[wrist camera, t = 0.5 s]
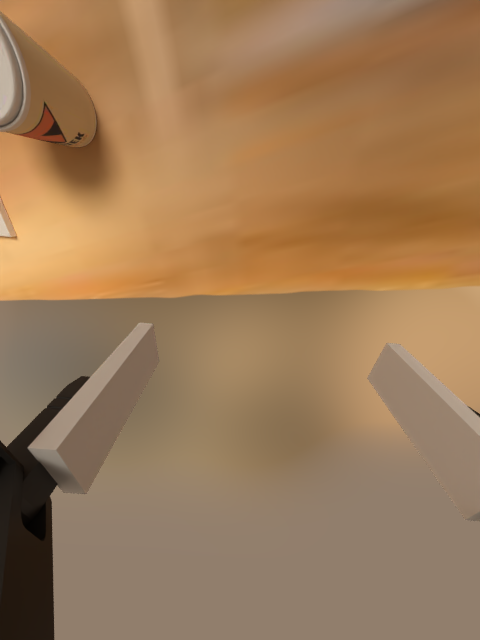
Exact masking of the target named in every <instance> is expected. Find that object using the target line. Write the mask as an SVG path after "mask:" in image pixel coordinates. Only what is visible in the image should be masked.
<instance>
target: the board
mask: <svg viewBox="0 0 480 640" xmlns="http://www.w3.org/2000/svg"><path fill="white" fill-rule="evenodd" d="M0 236H7V237H14V236H16V233H15V231H14V228H13V226H12V224H11V221H10V219H9V216H8V214H7V212H6V209H5V207H4V205H3V202H2V200H1V197H0Z"/></svg>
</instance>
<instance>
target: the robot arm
mask: <svg viewBox="0 0 480 640" xmlns="http://www.w3.org/2000/svg"><path fill="white" fill-rule="evenodd" d="M158 363H159V357H158V351H157V345H156V339H155V332H154V326H153V324H148V323H139V324H138V325H137V326H136V327H135V328H134V329H133V330H132V332H131V333H130V334H129V335H128V336H127V337H126V338H125V339H124V340H123V342H122V343H121V344H120V345H119V346H118V347H117V348H116V349H115V350H114V352H113V353H112V354H111V355H110V356H109V357H108V358H107V359H106V361H105V362H104V363H103V364H102V365H101V366H100V367H99V368H98V370H97V371H96V372H95V373H94V374H93V375H92V376H91V377H85V376H81V377H80V378H78V379H77V380H75V381H73V382H72V383H70V384H69V385H67V386H66V387H65V388H64V389H63V390H62V391H61V392H60V393H59V394H58V395H57V398H56V399H54V400H53V401H52V402H51V403H50V404H49V405H48V406H47V408H45V409H44V410H43V411H42V412H41V413H40V414H39V415H38V416H37V417H36V418H35V419H34V420H33V421H32V422H31V423H30V424H29V425H28V426H27V427H26V428H25V429H24V430H23V431H22V432H21V433H20V434H19V435H18V436H17V437H16V438H15V439H14V440H13V441H12V442H11V443H10V444H9V445H8V446H7V447H6V446H5V445H4V444H3V443H2V442H1V441H0V640H54V601H53V550H52V502H51V498H50V495H51V493H52V492H53V490H54V489H55V487H56V486H57V485H58V486H59V488H60V489H61V490H62V491H63V492H64V493H77V494H87V492H88V490H89V488H90V486H91V485H92V483H93V481H94V479H95V477H96V475H97V474H98V472H99V470H100V468H101V466H102V465H103V463H104V461H105V459H106V457H107V456H108V454H109V452H110V450H111V448H112V446H113V444H114V443H115V441H116V439H117V437H118V436H119V433H120V432H121V430H122V428H123V426H124V425H125V423H126V421H127V419H128V417H129V415H130V414H131V412H132V410H133V408H134V406H135V405H136V402H137V401H138V399H139V397H140V395H141V394H142V392H143V390H144V388H145V386H146V385H147V383H148V381H149V379H150V377H151V376H152V374H153V372H154V370H155V368H156V366H157V364H158ZM368 380H369V381H370V383H371V384H372V386H373V387H374V389H375V390H376V391H377V393H378V394H379V396H380V397H381V399H382V400H383V402H384V403H385V404H386V406H387V407H388V409H389V410H390V412H391V413H392V414H393V416H394V418H395V419H396V420H397V422H398V423H399V425H400V426H401V428H402V429H403V431H404V432H405V433H406V435H407V436H408V438H409V439H410V441H411V442H412V443H413V445H414V447H415V448H416V449H417V451H418V452H419V454H420V455H421V457H422V458H423V459H424V461H425V462H426V464H427V465H428V467H429V468H430V470H431V471H432V473H433V474H434V475H435V477H436V478H437V480H438V481H439V483H440V484H441V486H442V487H443V489H444V490H445V491H446V493H447V494H448V496H449V497H450V499H451V500H452V502H453V503H454V504H455V506H456V507H457V509H458V510H459V511H460V513H461V514H462V516H463V518H464V519H465V520H473V521H480V414H479V413H477V412H476V411H474V410H473V409H471V408H470V407H468V406H467V405H466V404H464V403H463V402H462V401H461V400H460V399H459V398H458V397H457V396H456V395H454V393H452V392H451V391H450V390H449V389H448V388H447V387H446V386H445V385H444V384H443V383H442V382H440V381H439V380H438V379H437V378H436V377H435V376H434V375H433V374H432V373H431V372H429V371H428V370H427V369H426V368H425V367H424V366H423V365H422V364H421V363H420V362H419V361H418V360H417V359H416V358H414V357H413V356H412V355H411V354H410V353H409V352H408V351H407V350H406V349H405V348H404V347H402V346H401V345H400V344H393V343H386V345H385V347H384V349H383V350H382V352H381V354H380V356H379V358H378V359H377V361H376V363H375V365H374V367H373V369H372V370H371V373H370V375H369V376H368Z"/></svg>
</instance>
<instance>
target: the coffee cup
mask: <svg viewBox="0 0 480 640" xmlns="http://www.w3.org/2000/svg"><path fill="white" fill-rule="evenodd" d="M96 126H97V121H96V113H95V109H94V106H93V103H92V100H91V98H90V96H89V94H88V93H87V91H86V89H85V88H84V86H83V85H82V84H81V83H80V82H79V80H78V79H77V78H76V77H75V76H74V75H72V74H71V73H70V72H69V71H68V70H67V69H66V68H65V67H64V66H62V65H61V64H60V63H59V62H58V61H57V60H56V59H55V58H53V57H52V56H51V55H50V54H49V53H48V52H47V51H45V50H44V49H43V48H42V47H41V46H40V45H39V44H37V43H36V42H35V41H34V40H33V39H32V38H31V37H29V36H28V35H27V34H26V33H25V32H24V31H23V30H21V29H20V28H19V27H18V26H17V25H16V24H14V23H13V22H12V21H11V20H10V19H9V18H8V17H6V16H5V15H4V14H3V13H2V12H1V11H0V132H7V133H12V134H16V135H20V136H24V137H29V138H33V139H38V140H42V141H47V142H51V143H56V144H61V145H65V146H70V147H83V146H85V145H87V144H89V143H90V142H91V141H92V139H93V137H94V135H95V132H96Z"/></svg>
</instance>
